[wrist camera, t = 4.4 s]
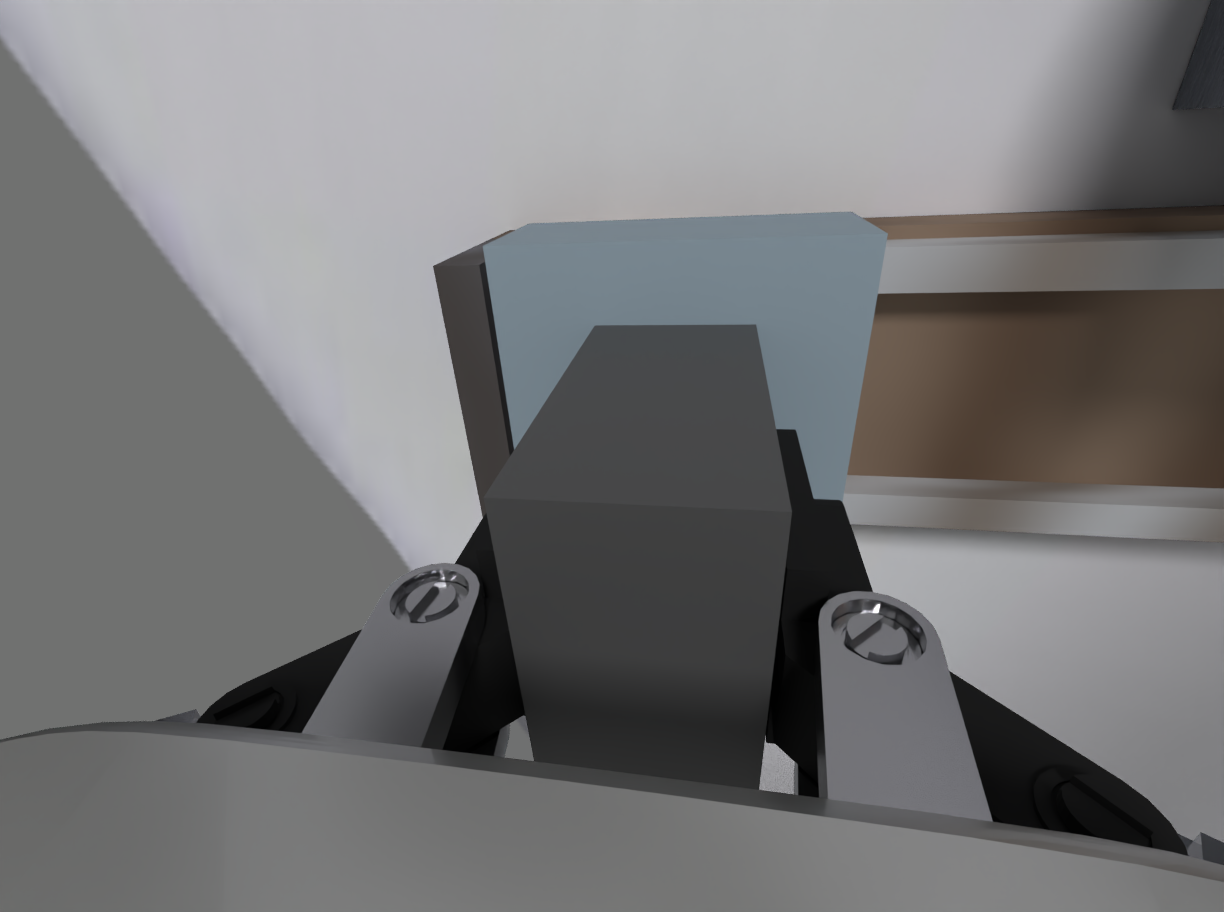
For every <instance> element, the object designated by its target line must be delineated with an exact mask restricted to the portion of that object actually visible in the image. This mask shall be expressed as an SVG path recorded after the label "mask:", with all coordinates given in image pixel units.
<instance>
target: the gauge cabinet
mask: <svg viewBox="0 0 1224 912" xmlns="http://www.w3.org/2000/svg"><path fill="white" fill-rule="evenodd" d="M1216 107H1224V0H1212V1H1211V4H1210V7H1209V10H1208V13H1207V15H1206V18H1205V21H1204V24H1203V26H1202V29H1201V32H1200V35H1199V37H1198V40H1197V43H1196V46H1195V49H1194V51H1193V54H1192V57H1191V60H1190V62H1189V65H1188V68H1187V71H1186V74H1185V76H1184V79H1183V82H1182V85H1181V87H1180V90H1179V93H1178V96H1177V99H1176V101H1175V104H1174V107H1173V110H1176V109H1196V108H1216Z"/></svg>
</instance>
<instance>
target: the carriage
mask: <svg viewBox="0 0 1224 912" xmlns="http://www.w3.org/2000/svg"><path fill="white" fill-rule="evenodd" d="M887 236H888V233H886V232H885V231H883V230H881V229H880V228H878V227H876V226H875V225H873V224H871V223H870V222H868V221H866V220H865V219H863V218H861V217H860V216H858V215H856V214H855V213H853V212H831V213H804V214H777V215H750V216H723V217H696V218H668V219H641V220H614V221H587V222H560V223H533V224H527V225H525V226H523V227H521V228H519V229H517V230H515V231H513V232H511V233H509V234H507V235H504V236H502V237H500V238H498V239H496V240H494V241H492V242H490V243H488V244H486V245H484V246H483V251H484V257H485V264H486V270H487V277H488V283H489V290H490V296H491V303H492V309H493V316H494V322H495V329H496V335H497V341H498V348H499V354H500V361H501V367H502V374H503V380H504V387H505V393H506V400H507V406H508V413H509V419H510V426H511V432H512V439H513V445H514V451H513V453H512V454H511V456H510V457H509V459H508V460H507V462H506V463H505V465H504V467H503V468H502V470H501V471H500V473H499V474H498V476H497V477H496V479H495V480H494V482H493V484H492V485H491V487H490V488H489V490H488V491H487V493H486V494H485V496H484V497H483V498H484V503H485V508H486V513H487V518H488V524H489V529H490V534H491V539H492V544H493V550H494V555H495V560H496V565H497V570H498V575H499V581H500V586H501V591H502V596H503V601H504V607H505V612H506V617H507V622H508V627H509V632H510V638H511V643H512V648H513V653H514V658H515V663H516V669H517V674H518V679H519V684H520V689H521V695H522V700H523V705H524V710H525V715H526V720H527V726H528V731H529V736H530V741H531V746H532V751H533V757H534V761H535V762H543V763H551V764H559V765H567V766H575V767H583V768H591V769H599V770H607V771H615V772H623V773H631V774H638V775H646V776H654V777H662V778H670V779H678V780H686V781H694V782H702V783H709V784H717V785H725V786H732V787H740V788H748V789H755V790H759V784H760V776H761V767H762V759H763V751H764V742H765V734H766V726H767V717H768V709H769V700H770V692H771V684H772V675H773V667H774V659H775V650H776V642H777V634H778V625H779V617H780V609H781V600H782V592H783V583H784V575H785V567H786V558H787V550H788V542H789V533H790V525H791V517H792V509H791V504H790V499H789V493H788V488H787V483H786V478H785V473H784V467H783V462H782V457H781V452H780V446H779V441H778V436H777V431H776V429H795V430H796V432H797V436H798V440H799V444H800V447H801V451H802V455H803V459H804V463H805V467H806V471H807V475H808V479H809V483H810V487H811V490H812V494H813V498H814V499H829V500H840V501H842V502H843V496H844V490H845V484H846V478H847V472H848V466H849V460H850V454H851V449H852V443H853V437H854V431H855V425H856V419H857V413H858V407H859V401H860V395H861V390H862V384H863V378H864V372H865V366H866V360H867V354H868V348H869V342H870V336H871V331H872V325H873V319H874V313H875V307H876V301H877V295H878V289H879V283H880V277H881V271H882V266H883V260H884V254H885V248H886V242H887Z"/></svg>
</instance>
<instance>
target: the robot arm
mask: <svg viewBox="0 0 1224 912" xmlns="http://www.w3.org/2000/svg"><path fill="white" fill-rule="evenodd" d="M776 431H777V436H778V441H779V446H780V452H781V457H782V462H783V467H784V473H785V478H786V483H787V488H788V493H789V499H790V504H791V509H792V517H791V525H790V533H789V542H788V550H787V558H786V567H785V575H784V583H783V592H782V600H781V609H780V617H779V625H778V634H777V642H776V650H775V659H774V667H773V675H772V684H771V692H770V700H769V709H768V717H767V726H766V743H774V744H776V745H777V746H778V747H779V748H781V749H782V750H783V751H784V752H785V753H786V754H787V755H788V756H789V757H790V758H791V759H792V760H794V761H795V766H794V795H793V794H786V793H778V792H770V791H763V790H755V789H748V788H740V787H732V786H725V785H717V784H709V783H702V782H694V781H686V780H678V779H670V778H662V777H654V776H646V775H638V774H631V773H623V772H615V771H607V770H599V769H591V768H583V767H575V766H567V765H559V764H551V763H543V762H535V761H527V760H519V759H511V758H504V757H505V752H506V748H507V744H508V740H509V732H510V723H511V722H513V721H515V720H516V719H518V718H519V717H521V716H523V715H524V716H526V715H525V710H524V705H523V700H522V695H521V689H520V684H519V679H518V674H517V669H516V663H515V658H514V653H513V648H512V643H511V638H510V632H509V627H508V622H507V617H506V612H505V607H504V601H503V596H502V591H501V586H500V581H499V575H498V570H497V565H496V560H495V555H494V550H493V544H492V539H491V534H490V529H489V524H488V518H487V513H486V514H485V515H484V517H483V519H482V520H481V522H480V524H479V525H478V527H477V528H476V530H475V532H474V533H473V535H472V537H471V538H470V540H469V542H468V543H467V545H466V546H465V548H464V550H463V551H462V553H461V555H460V556H459V558H458V559H457V561H456V563H455V564H450V563H440V564H431V565H427V566H424V567H420V568H417V569H415V570H413V571H411V572H409V573H407V574H405V575H403V576H401V577H400V578H399V579H397V580H396V581H395V582H393V583H392V584H391V585H390V586H389V587H388V588H387V590H386V591H385V592H384V593H383V595H382V596H381V598H380V600H379V602H378V603H377V605H376V607H375V608H374V610H373V612H372V613H371V615H370V617H369V619H368V620H367V622H366V624H365V625H364V627H363V629H362V630H359V631H357V632H355V633H353V634H351V635H349V636H346V637H344V638H342V639H340V640H338V641H335V642H333V643H331V644H329V645H327V646H325V647H322V648H320V649H318V650H316V651H314V652H311V653H309V654H307V655H305V656H303V657H301V658H298V659H296V660H294V661H292V662H290V663H288V664H285V665H283V666H281V667H279V668H277V669H274V670H272V671H270V672H268V673H266V674H264V675H261V676H259V677H257V678H255V679H253V680H250V681H248V682H246V683H244V684H242V685H240V686H239V687H237V688H235V689H233V690H231V691H230V692H228V693H226V694H225V695H224V696H223V697H221V698H220V699H219V700H217V701H216V702H215V703H214V704H212V705H211V706H210V707H209V708H208V709H207V711H206V712H205V713H204V714H203V715H202V716H200V715H199V713H198V711H197V710H196V709H195V710H191V711H188V712H184V713H181V714H177V715H173V716H170V717H166V718H163V719H159V720H156V721H131V722H130V721H127V722H100V723H92V724H83V725H74V726H67V727H57V728H49V729H44V730H40V731H36V732H31V733H27V734H23V735H18V736H14V737H9V738H5V739H0V912H1224V843H1223V842H1221V841H1218V840H1216V839H1214V838H1212V837H1210V836H1208V835H1205V834H1203V833H1201V832H1200V834H1199V835H1198V836H1197V837H1196V839H1195V840H1194V841H1192V840H1190V839H1188V838H1186V837H1184V836H1181V835H1179V834H1177V832H1176V831H1175V829H1174V828H1173V826H1172V825H1171V823H1170V822H1169V821H1168V820H1167V819H1166V818H1165V817H1164V816H1163V815H1162V813H1161V812H1160V811H1159V810H1158V809H1157V808H1156V807H1155V806H1154V805H1153V804H1152V803H1151V802H1150V801H1149V800H1148V799H1146V798H1145V797H1144V796H1142V795H1141V794H1140V793H1138V792H1137V791H1136V790H1134V789H1133V788H1132V787H1130V786H1129V785H1128V784H1126V783H1125V782H1124V781H1122V780H1121V779H1119V778H1117V777H1116V776H1114V775H1113V774H1111V773H1109V772H1108V771H1106V770H1105V769H1103V768H1102V767H1100V766H1098V765H1097V764H1095V763H1094V762H1092V761H1091V760H1089V759H1087V758H1086V757H1084V756H1083V755H1081V754H1079V753H1078V752H1076V751H1075V750H1073V749H1072V748H1070V747H1068V746H1067V745H1065V744H1064V743H1062V742H1060V741H1059V740H1057V739H1056V738H1054V737H1053V736H1051V735H1049V734H1048V733H1046V732H1045V731H1043V730H1042V729H1040V728H1038V727H1037V726H1035V725H1034V724H1032V723H1030V722H1029V721H1027V720H1026V719H1024V718H1023V717H1021V716H1019V715H1018V714H1016V713H1015V712H1013V711H1011V710H1010V709H1008V708H1007V707H1005V706H1004V705H1002V704H1000V703H999V702H997V701H996V700H994V699H993V698H991V697H989V696H988V695H986V694H985V693H983V692H981V691H980V690H978V689H977V688H975V687H974V686H972V685H970V684H969V683H967V682H966V681H964V680H963V679H961V678H959V677H958V676H956V675H955V674H953V673H951V672H950V671H949V669H948V665H947V662H946V659H945V655H944V652H943V648H942V645H941V641H940V638H939V636H938V634H937V632H936V630H935V628H934V627H933V625H932V624H931V623H930V622H929V621H928V620H927V619H926V618H925V617H924V616H923V615H922V614H921V613H920V612H919V611H917V610H916V609H914V608H913V607H911V606H910V605H908V604H907V603H905V602H902V601H900V600H898V599H895V598H893V597H890V596H887V595H883V594H879V593H874V592H873V591H872V588H871V585H870V582H869V579H868V576H867V573H866V570H865V567H864V564H863V561H862V558H861V555H860V552H859V549H858V546H857V543H856V540H855V537H854V534H853V531H852V528H851V525H850V522H849V519H848V516H847V513H846V510H845V507H844V504H843V502H842V501H840V500H829V499H814V498H813V494H812V490H811V487H810V483H809V479H808V475H807V471H806V467H805V463H804V459H803V455H802V451H801V447H800V444H799V440H798V436H797V432H796V430H795V429H776Z"/></svg>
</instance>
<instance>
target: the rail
mask: <svg viewBox="0 0 1224 912" xmlns="http://www.w3.org/2000/svg"><path fill="white" fill-rule="evenodd" d="M863 219H865V220H866V221H868V222H870V223H871V224H873V225H875V226H876V227H878V228H880V229H881V230H883V231H885V232H886V233H888V236H887V242H886V248H885V254H884V260H883V266H882V271H881V277H880V283H879V289H878V295H877V301H876V307H875V313H874V319H873V325H872V331H871V336H870V342H869V348H868V354H867V360H866V366H865V372H864V378H863V384H862V390H861V395H860V401H859V407H858V413H857V419H856V425H855V431H854V437H853V443H852V449H851V454H850V460H849V466H848V472H847V478H846V484H845V490H844V496H843V504H844V507H845V510H846V513H847V516H848V519H849V522H850V524H859V525H880V526H900V527H920V528H941V529H961V530H981V531H1001V532H1022V533H1042V534H1062V535H1082V536H1103V537H1123V538H1143V539H1164V540H1184V541H1204V542H1224V205H1222V206H1193V207H1165V208H1136V209H1108V210H1079V211H1051V212H1022V213H994V214H965V215H937V216H908V217H879V218H863ZM513 231H515V230H510V231H507V232H505V233H503V234H501V235H499V236H497V237H495V238H492V239H490V240H488V241H486V242H484V243H482V244H479V245H477V246H475V247H473V248H471V249H469V250H467V251H464V252H462V253H460V254H458V255H456V256H454V257H452V258H449V259H447V260H445V261H443V262H441V263H439V264H437V265H434V266H433V267H434V272H435V278H436V283H437V288H438V293H439V298H440V303H441V308H442V313H443V318H444V323H445V328H446V333H447V338H448V343H449V348H450V353H451V359H452V364H453V369H454V374H455V379H456V384H457V389H458V394H459V399H460V404H461V409H462V414H463V419H464V424H465V429H466V434H467V440H468V445H469V450H470V455H471V460H472V465H473V470H474V475H475V480H476V485H477V490H478V495H479V500H480V505H481V510H482V515H483V517H484V515H485V514H486V508H485V503H484V498H483V497H484V496H485V494H486V493H487V491H488V490H489V488H490V487H491V485H492V484H493V482H494V480H495V479H496V477H497V476H498V474H499V473H500V471H501V470H502V468H503V467H504V465H505V463H506V462H507V460H508V459H509V457H510V456H511V454H512V453H513V451H514V445H513V439H512V432H511V426H510V419H509V413H508V406H507V400H506V393H505V387H504V380H503V374H502V367H501V361H500V354H499V348H498V341H497V335H496V329H495V322H494V316H493V309H492V303H491V296H490V290H489V283H488V277H487V270H486V264H485V257H484V251H483V246H484V245H486V244H488V243H490V242H492V241H494V240H496V239H498V238H500V237H502V236H504V235H507V234H509V233H511V232H513Z"/></svg>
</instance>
